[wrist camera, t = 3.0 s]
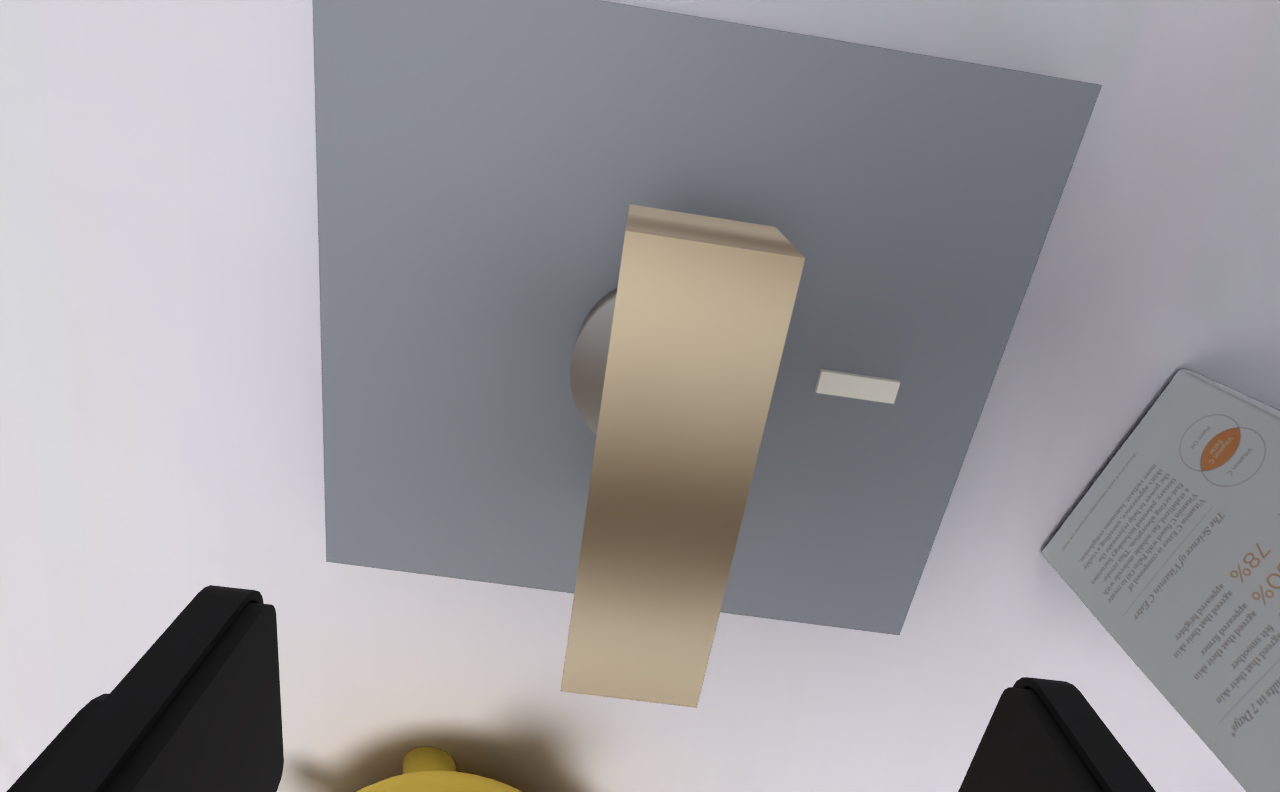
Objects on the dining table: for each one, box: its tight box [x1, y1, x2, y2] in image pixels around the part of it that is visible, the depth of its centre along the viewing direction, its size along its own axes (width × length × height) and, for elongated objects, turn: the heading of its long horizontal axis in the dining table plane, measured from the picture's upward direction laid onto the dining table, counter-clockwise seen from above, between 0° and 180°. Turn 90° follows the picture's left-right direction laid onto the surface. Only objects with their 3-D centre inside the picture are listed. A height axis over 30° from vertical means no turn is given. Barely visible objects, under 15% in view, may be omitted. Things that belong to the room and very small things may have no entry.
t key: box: [561, 204, 805, 708], centre depth 17 cm, size 10×5×8 cm, turn 171°
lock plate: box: [313, 0, 1102, 635], centre depth 22 cm, size 18×20×2 cm
